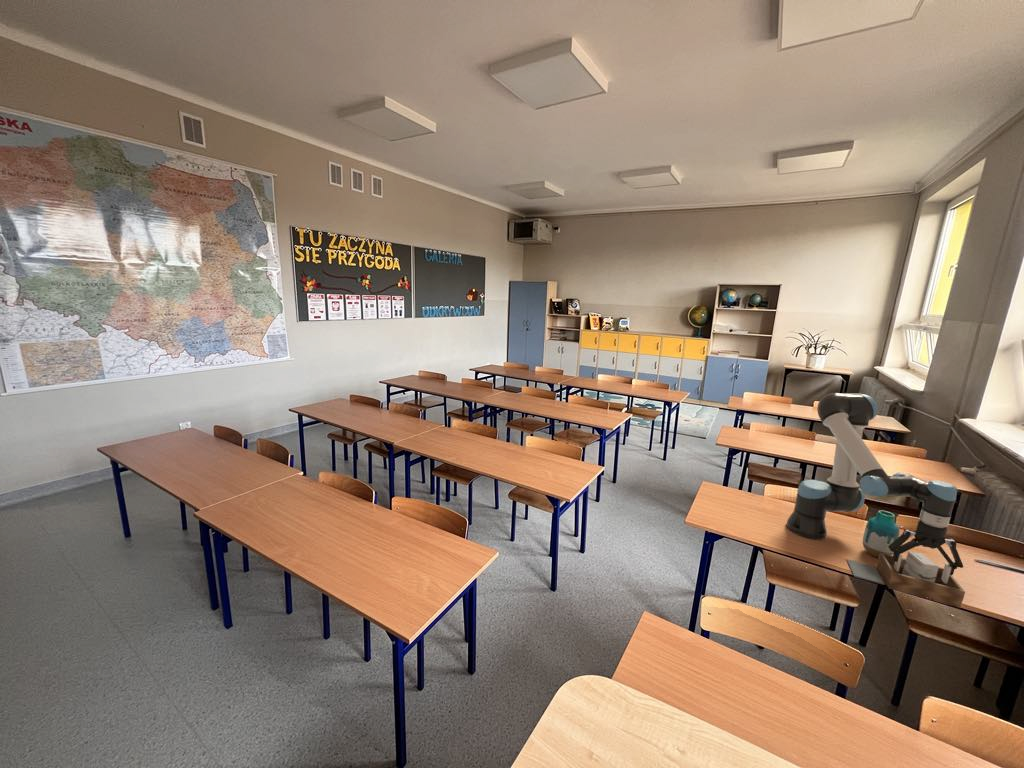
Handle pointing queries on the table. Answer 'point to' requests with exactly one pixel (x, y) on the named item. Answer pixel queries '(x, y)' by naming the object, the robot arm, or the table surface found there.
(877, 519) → the vase
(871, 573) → the zone pad
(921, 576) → the ink box
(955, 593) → the crate
